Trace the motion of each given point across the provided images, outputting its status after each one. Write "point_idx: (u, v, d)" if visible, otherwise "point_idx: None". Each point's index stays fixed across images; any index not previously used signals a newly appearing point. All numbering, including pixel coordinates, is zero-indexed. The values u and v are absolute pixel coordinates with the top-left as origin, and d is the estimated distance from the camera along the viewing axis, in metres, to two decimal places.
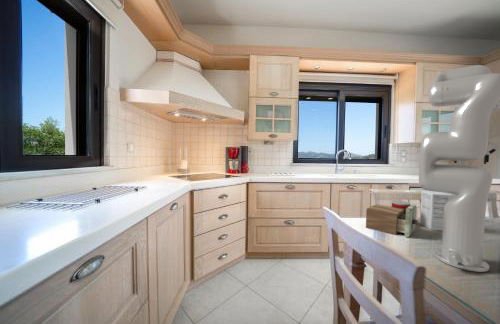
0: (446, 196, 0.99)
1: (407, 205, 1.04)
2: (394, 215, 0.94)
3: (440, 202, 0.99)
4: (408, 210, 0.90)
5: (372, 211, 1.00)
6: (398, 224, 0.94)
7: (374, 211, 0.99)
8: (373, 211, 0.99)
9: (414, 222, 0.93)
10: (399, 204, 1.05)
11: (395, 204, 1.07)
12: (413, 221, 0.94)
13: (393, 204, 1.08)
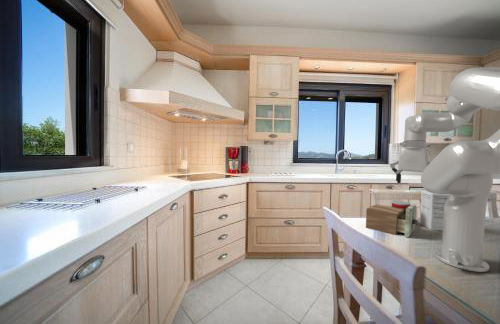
0: (446, 196, 0.99)
1: (407, 205, 1.04)
2: (394, 215, 0.94)
3: (440, 202, 0.99)
4: (408, 210, 0.90)
5: (372, 211, 1.00)
6: (398, 224, 0.94)
7: (374, 211, 0.99)
8: (373, 211, 0.99)
9: (414, 222, 0.93)
10: (399, 204, 1.05)
11: (395, 204, 1.07)
12: (413, 221, 0.94)
13: (393, 204, 1.08)
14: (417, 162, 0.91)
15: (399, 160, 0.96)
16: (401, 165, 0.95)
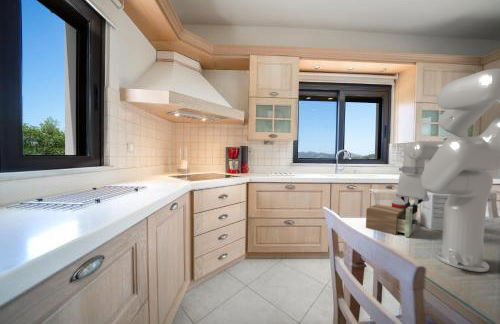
0: (446, 196, 0.99)
1: None
2: (394, 215, 0.94)
3: (440, 202, 0.99)
4: (408, 210, 0.90)
5: (372, 211, 1.00)
6: (398, 224, 0.94)
7: (374, 211, 0.99)
8: (373, 211, 0.99)
9: (414, 222, 0.93)
10: (399, 204, 1.05)
11: (395, 204, 1.07)
12: (413, 221, 0.94)
13: (393, 204, 1.08)
14: (416, 189, 0.91)
15: (398, 185, 0.96)
16: (400, 190, 0.95)
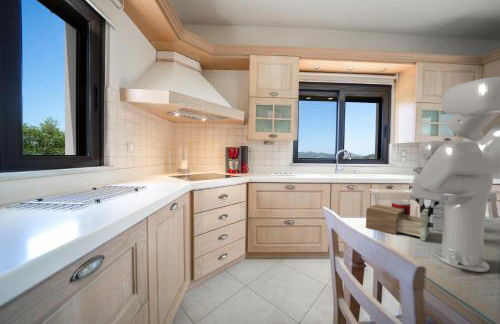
0: (446, 196, 0.99)
1: (407, 205, 1.04)
2: (394, 215, 0.94)
3: None
4: (424, 213, 0.86)
5: (372, 211, 1.00)
6: (413, 227, 0.90)
7: (374, 211, 0.99)
8: (373, 211, 0.99)
9: (430, 225, 0.90)
10: (399, 204, 1.05)
11: (395, 204, 1.07)
12: (429, 224, 0.90)
13: (393, 204, 1.08)
14: None
15: (413, 187, 0.92)
16: (415, 192, 0.92)
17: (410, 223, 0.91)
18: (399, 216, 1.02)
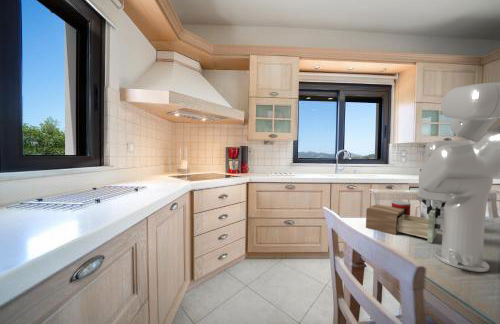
0: None
1: (407, 205, 1.04)
2: (394, 215, 0.94)
3: None
4: (431, 214, 0.85)
5: (372, 211, 1.00)
6: (420, 228, 0.88)
7: (374, 211, 0.99)
8: (373, 211, 0.99)
9: (437, 227, 0.88)
10: (399, 204, 1.05)
11: (395, 204, 1.07)
12: (436, 225, 0.88)
13: (393, 204, 1.08)
14: None
15: (419, 188, 0.91)
16: (422, 193, 0.90)
17: (417, 224, 0.89)
18: (405, 217, 1.00)
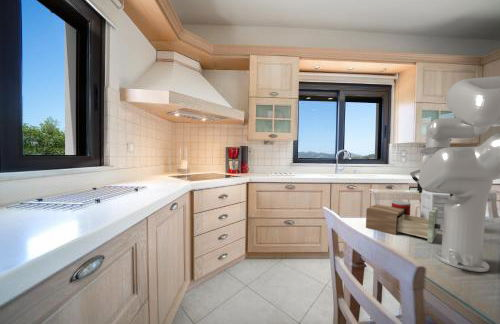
0: (446, 196, 0.99)
1: (407, 205, 1.04)
2: (394, 215, 0.94)
3: (440, 202, 0.99)
4: (431, 214, 0.85)
5: (372, 211, 1.00)
6: (420, 228, 0.88)
7: (374, 211, 0.99)
8: (373, 211, 0.99)
9: (437, 227, 0.88)
10: (399, 204, 1.05)
11: (395, 204, 1.07)
12: (436, 225, 0.88)
13: (393, 204, 1.08)
14: None
15: (421, 168, 0.90)
16: None
17: (417, 224, 0.89)
18: (405, 217, 1.00)
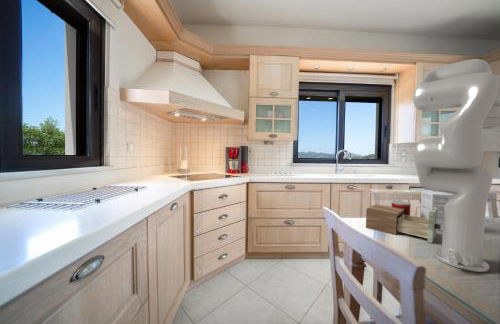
0: (446, 196, 0.99)
1: (407, 205, 1.04)
2: (394, 215, 0.94)
3: (440, 202, 0.99)
4: (431, 214, 0.85)
5: (372, 211, 1.00)
6: (420, 228, 0.88)
7: (374, 211, 0.99)
8: (373, 211, 0.99)
9: (437, 227, 0.88)
10: (399, 204, 1.05)
11: (395, 204, 1.07)
12: (436, 225, 0.88)
13: (393, 204, 1.08)
14: (490, 142, 0.83)
15: None
16: None
17: (417, 224, 0.89)
18: (405, 217, 1.00)
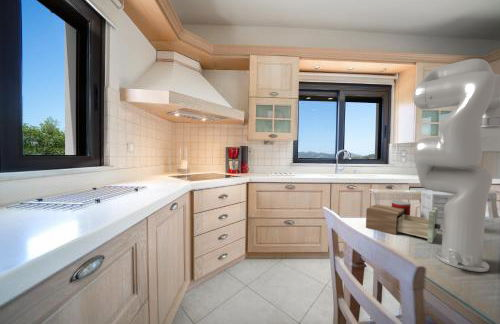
0: (446, 196, 0.99)
1: (407, 205, 1.04)
2: (394, 215, 0.94)
3: (440, 202, 0.99)
4: (431, 214, 0.85)
5: (372, 211, 1.00)
6: (420, 228, 0.88)
7: (374, 211, 0.99)
8: (373, 211, 0.99)
9: (437, 227, 0.88)
10: (399, 204, 1.05)
11: (395, 204, 1.07)
12: (436, 225, 0.88)
13: (393, 204, 1.08)
14: (495, 142, 0.83)
15: None
16: None
17: (417, 224, 0.89)
18: (405, 217, 1.00)
